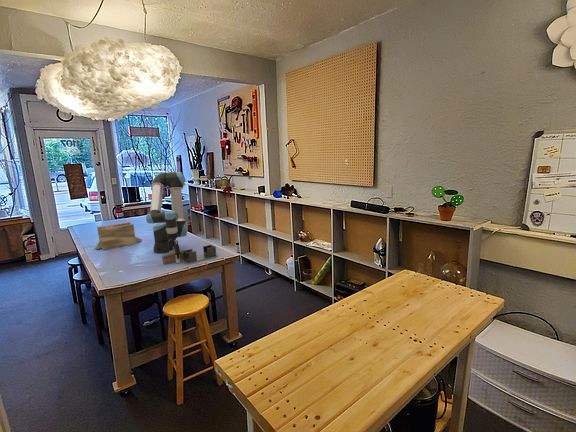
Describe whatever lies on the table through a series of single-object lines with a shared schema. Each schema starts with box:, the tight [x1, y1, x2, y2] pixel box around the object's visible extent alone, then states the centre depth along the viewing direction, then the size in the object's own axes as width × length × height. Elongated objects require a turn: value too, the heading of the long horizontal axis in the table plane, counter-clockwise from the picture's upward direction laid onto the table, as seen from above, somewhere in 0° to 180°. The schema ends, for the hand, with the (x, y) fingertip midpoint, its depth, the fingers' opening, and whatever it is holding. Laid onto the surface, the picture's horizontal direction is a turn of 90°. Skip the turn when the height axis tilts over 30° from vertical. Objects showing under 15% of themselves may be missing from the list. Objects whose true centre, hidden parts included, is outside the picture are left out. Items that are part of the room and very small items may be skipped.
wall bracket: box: [94, 224, 143, 251], centre depth 273 cm, size 22×4×30 cm
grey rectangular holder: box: [182, 244, 218, 265], centre depth 231 cm, size 10×23×8 cm, turn 130°
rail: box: [161, 250, 184, 265], centre depth 228 cm, size 4×17×6 cm, turn 131°
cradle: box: [96, 221, 137, 251], centre depth 272 cm, size 14×26×18 cm, turn 130°
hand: (175, 260), depth 229 cm, fingers open, 12 cm apart
